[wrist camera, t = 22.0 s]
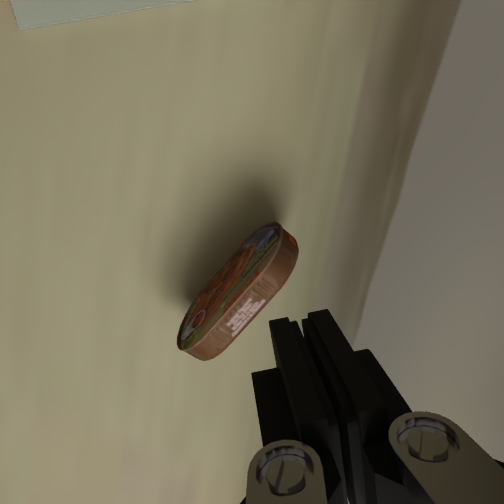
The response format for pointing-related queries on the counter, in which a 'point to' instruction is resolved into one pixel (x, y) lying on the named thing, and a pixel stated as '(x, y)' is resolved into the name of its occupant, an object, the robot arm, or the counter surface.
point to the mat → (75, 10)
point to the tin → (238, 292)
